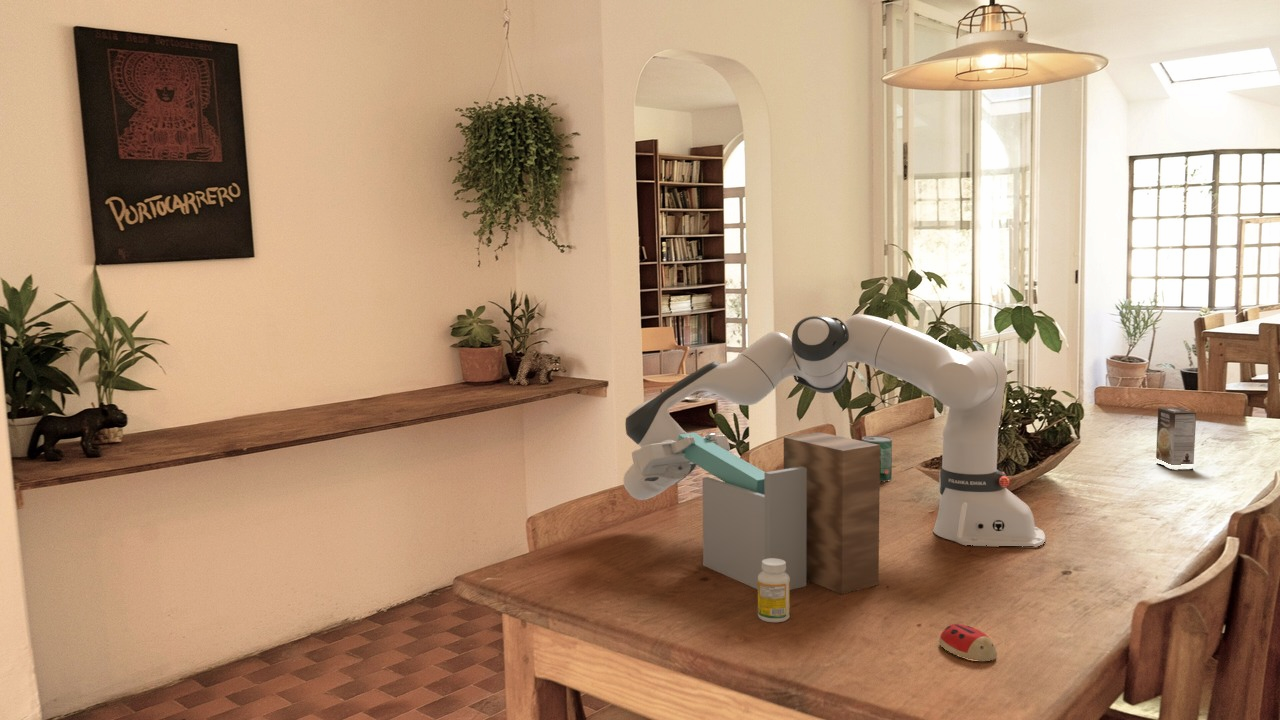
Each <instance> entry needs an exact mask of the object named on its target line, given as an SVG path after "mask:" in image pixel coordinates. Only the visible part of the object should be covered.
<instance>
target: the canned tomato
mask: <svg viewBox="0 0 1280 720" xmlns="http://www.w3.org/2000/svg"><path fill="white" fill-rule="evenodd" d="M861 441H864V442H869V443H873V444H878V445H880V483H882V482H881V481H888V480H891V479H892V480H893V478H892V475H893V474H892V473H893V472H892V469H893V467H892V466H893V465H892V464H893V463H892V462H893V439H892V437H889V436H882V435H867V436H862V437H861ZM892 480H891V481H892ZM888 482H889V481H888Z"/></svg>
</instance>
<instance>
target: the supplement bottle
mask: <svg viewBox="0 0 1280 720" xmlns="http://www.w3.org/2000/svg"><path fill="white" fill-rule="evenodd" d="M762 570H763V572H761V573H760V574H759V575H758V589H757V616H758V618H759V619H760V620H761V621H763V622H768V623H783V622H786V621H787V620H788V619H789V618H790V615H791V614H790V613H791V612H790V608H791V604H790V601H791V600H790V599H791V597H790V596H791V594H790V593H791V590H790V577H789V575H788V574H787V573H785V570H786V562H785V561H784V560H782V559H777V558H768V559H764V560H762Z"/></svg>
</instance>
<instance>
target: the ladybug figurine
mask: <svg viewBox="0 0 1280 720" xmlns="http://www.w3.org/2000/svg"><path fill="white" fill-rule="evenodd" d="M938 642H939V646H940V645H941V646H940V647H941V648H942V647H943V648H944V649H945V651H946V650H947V651H949V652H951V653H953V654H956V655H959V656H961V657H965V658H968V659H973V660H978V661H989V660H992V661H994V660H996V658H997V656H998V651H997V648H996V645H995V644H994V642H993V640H992V639H991V638H990V637H989V636H988V635H987V634H986V633H984V632H982V631H981V630H979V629H977V628H975V627H973V626H969V625H965V624H959V623H956V624H955V623H954V624H953V623H952V624H949V625H948V626H946V628H944V629H943V631H942V632H941V634H940V636H939V640H938ZM943 648H942V649H943ZM944 649H943V650H944ZM947 651H946V652H947ZM949 652H948V653H949ZM993 659H994V660H993Z"/></svg>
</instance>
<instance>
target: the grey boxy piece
mask: <svg viewBox="0 0 1280 720" xmlns="http://www.w3.org/2000/svg"><path fill="white" fill-rule="evenodd" d="M764 472H765V495H764V494H761V493H757V492H754V491H751V490H748V489H745V488H741V487H738V486H735V485H732V484H728V483H725V482H724V481H722V480H720V479H719V480H718V479H715V478H712V477H709V476H706V477H702V481H701V482H702V553H703V554H702V555H703V556H702V559H703V561H702V566H703V567H705V568H709V569H710V570H713V571H715V572H718V573H720V574H722V575H723V576H726V577H728V578H731V579H733V580H735V581H738V582H740V583H741V584H744V585H747V586H749V587H751V588H753V589H756V590H758V575H759V574H760V573H761V572H763V570H762V560H764V559H768V558H777V559H782V560H784V561H785V562H786V570H785V573H787V574H788V575H789V577H790V591H793V590H796V589H800V588H804V587H807V580H806V520H807V468H805V467H795V468H789V469H784V468H783V469H778V470H772V471H771V470H770V471H764Z"/></svg>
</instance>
